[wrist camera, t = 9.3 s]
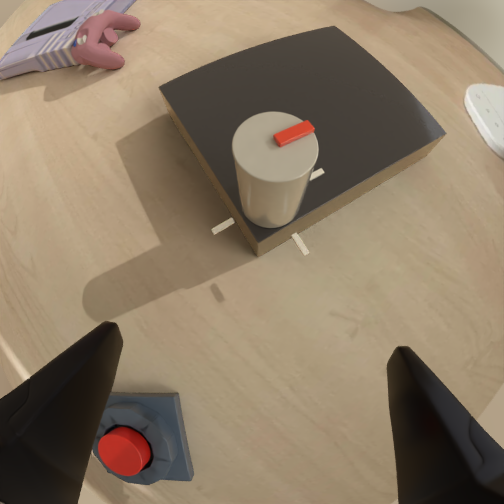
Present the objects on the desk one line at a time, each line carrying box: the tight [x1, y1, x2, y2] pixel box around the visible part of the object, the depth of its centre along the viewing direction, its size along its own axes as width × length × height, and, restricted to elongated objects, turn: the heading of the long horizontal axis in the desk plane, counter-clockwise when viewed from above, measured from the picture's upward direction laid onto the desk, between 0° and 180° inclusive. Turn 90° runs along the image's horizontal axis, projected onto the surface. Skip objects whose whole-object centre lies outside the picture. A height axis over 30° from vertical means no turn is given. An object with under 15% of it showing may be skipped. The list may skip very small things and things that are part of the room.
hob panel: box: [159, 26, 446, 257], centre depth 21 cm, size 20×17×4 cm
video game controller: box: [71, 9, 140, 69], centre depth 24 cm, size 10×5×7 cm, turn 2°
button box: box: [92, 392, 194, 485], centre depth 17 cm, size 7×7×3 cm
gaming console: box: [0, 0, 136, 80], centre depth 28 cm, size 18×4×20 cm
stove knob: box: [232, 112, 319, 228], centre depth 14 cm, size 4×4×6 cm
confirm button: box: [98, 427, 151, 476], centre depth 15 cm, size 3×3×2 cm
